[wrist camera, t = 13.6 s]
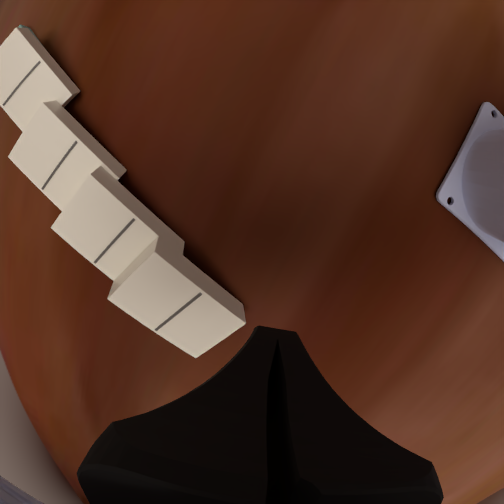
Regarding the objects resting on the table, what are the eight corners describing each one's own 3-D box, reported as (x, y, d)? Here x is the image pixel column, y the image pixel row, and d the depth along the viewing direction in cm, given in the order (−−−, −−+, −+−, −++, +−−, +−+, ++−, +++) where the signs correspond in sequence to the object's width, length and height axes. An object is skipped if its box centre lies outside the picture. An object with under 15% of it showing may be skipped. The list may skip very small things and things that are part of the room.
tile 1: (72, 94, 16) (15, 27, 12) (29, 140, 17) (-24, 76, 13) (80, 91, 17) (27, 28, 13) (40, 133, 18) (-10, 73, 14)
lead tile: (246, 324, 19) (154, 252, 16) (195, 359, 20) (107, 299, 17) (243, 304, 21) (159, 235, 17) (195, 338, 22) (113, 280, 19)
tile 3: (182, 257, 18) (90, 174, 15) (135, 299, 19) (50, 228, 16) (184, 241, 20) (100, 165, 17) (141, 282, 21) (62, 215, 18)
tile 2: (118, 178, 17) (42, 102, 14) (78, 226, 18) (7, 157, 15) (127, 170, 19) (56, 99, 16) (87, 215, 20) (21, 150, 17)
